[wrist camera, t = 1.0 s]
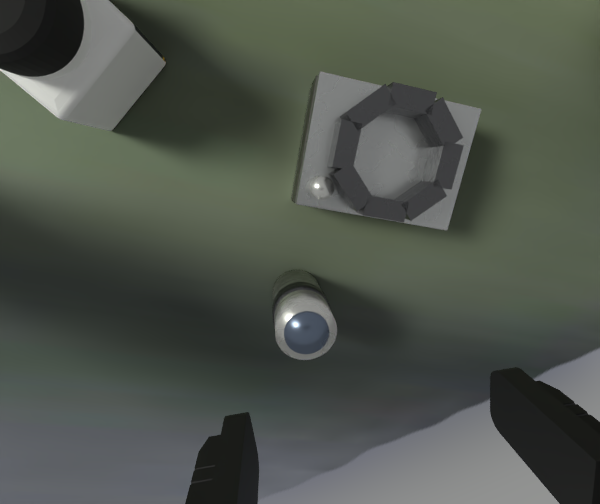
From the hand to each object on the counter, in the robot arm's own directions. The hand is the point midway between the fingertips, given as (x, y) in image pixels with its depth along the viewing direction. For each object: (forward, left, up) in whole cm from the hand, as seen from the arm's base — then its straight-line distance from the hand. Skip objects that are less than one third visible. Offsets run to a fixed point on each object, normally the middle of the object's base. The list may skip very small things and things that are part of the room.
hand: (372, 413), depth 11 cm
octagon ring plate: (+4, +9, -21) cm, 23 cm away
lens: (0, -4, -21) cm, 21 cm away
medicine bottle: (-18, +12, -21) cm, 30 cm away
